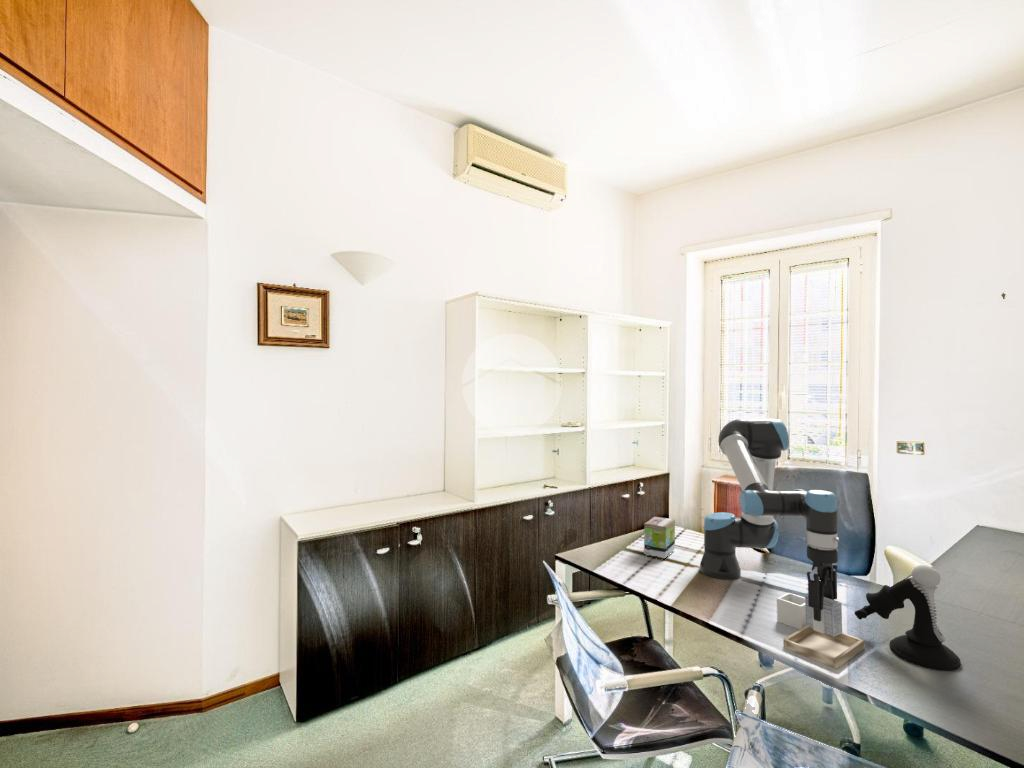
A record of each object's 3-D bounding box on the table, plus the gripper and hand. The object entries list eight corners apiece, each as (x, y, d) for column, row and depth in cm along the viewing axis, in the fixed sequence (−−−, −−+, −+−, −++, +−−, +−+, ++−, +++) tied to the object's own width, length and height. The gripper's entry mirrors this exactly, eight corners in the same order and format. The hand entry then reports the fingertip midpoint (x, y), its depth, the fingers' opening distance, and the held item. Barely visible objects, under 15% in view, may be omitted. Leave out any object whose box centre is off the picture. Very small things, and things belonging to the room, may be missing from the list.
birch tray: (783, 649, 140) (783, 639, 140) (812, 631, 150) (812, 621, 150) (836, 672, 129) (836, 660, 129) (864, 650, 139) (864, 640, 139)
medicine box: (842, 633, 137) (842, 602, 137) (833, 637, 135) (833, 605, 135) (814, 622, 144) (813, 592, 144) (805, 625, 142) (804, 595, 142)
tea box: (666, 560, 212) (665, 526, 212) (643, 556, 218) (643, 523, 218) (675, 550, 225) (675, 518, 225) (653, 547, 230) (653, 515, 231)
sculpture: (955, 678, 125) (954, 580, 126) (847, 642, 143) (846, 557, 143) (964, 656, 135) (962, 565, 136) (862, 625, 153) (860, 545, 153)
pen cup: (777, 623, 155) (776, 598, 155) (788, 617, 159) (788, 592, 159) (801, 633, 149) (801, 606, 149) (813, 626, 153) (812, 600, 153)
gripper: (821, 556, 131) (823, 643, 131) (850, 543, 141) (852, 624, 141) (792, 548, 137) (794, 632, 137) (822, 537, 148) (823, 615, 147)
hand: (823, 628), depth 139 cm, fingers closed on medicine box, 5 cm apart
